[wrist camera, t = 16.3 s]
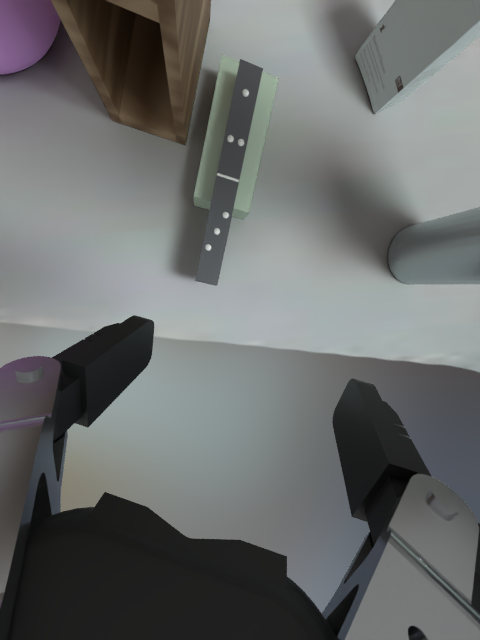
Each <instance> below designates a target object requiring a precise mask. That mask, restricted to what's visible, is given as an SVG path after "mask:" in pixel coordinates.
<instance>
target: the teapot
mask: <svg viewBox="0 0 480 640" xmlns="http://www.w3.org/2000/svg"><path fill="white" fill-rule="evenodd" d="M60 21H61V19H60V17H59V15H58V13H57V11H56V9H55V7H54V5H53V3H52V1H51V0H0V74H9V73H14V72H18V71H21V70H24V69H26V68H28V67H30V66H32V65H34V64H35V63H36V62H37V61H39V60H40V59H41V58H42V57H43V56H44V55H45V54H46V53H47V51H48V50H49V48H50V47H51V45H52V43H53V41H54V39H55V37H56V35H57V32H58V28H59V25H60Z"/></svg>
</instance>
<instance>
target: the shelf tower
mask: <svg viewBox="0 0 480 640" xmlns="http://www.w3.org/2000/svg"><path fill="white" fill-rule="evenodd" d="M51 1H52V3H53V5H54V7H55V9H56V11H57V13H58V15H59V17H60V19H61V21H62V23H63V25H64V27H65V29H66V31H67V33H68V35H69V37H70V39H71V41H72V43H73V45H74V47H75V49H76V51H77V52H78V54H79V56H80V58H81V60H82V62H83V64H84V66H85V68H86V70H87V72H88V74H89V76H90V78H91V80H92V82H93V84H94V86H95V88H96V90H97V92H98V94H99V96H100V98H101V100H102V102H103V103H104V105H105V107H106V109H107V111H108V113H109V115H110V117H111V119H112V121H115V122H118V123H121V124H124V125H127V126H130V127H133V128H136V129H139V130H142V131H145V132H148V133H151V134H154V135H157V136H160V137H163V138H166V139H169V140H172V141H175V142H178V143H180V144H183V145H186V141H187V136H188V130H189V125H190V120H191V115H192V110H193V105H194V99H195V94H196V89H197V84H198V79H199V74H200V68H201V63H202V58H203V53H204V48H205V42H206V37H207V32H208V27H209V22H210V7H211V0H51Z"/></svg>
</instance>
